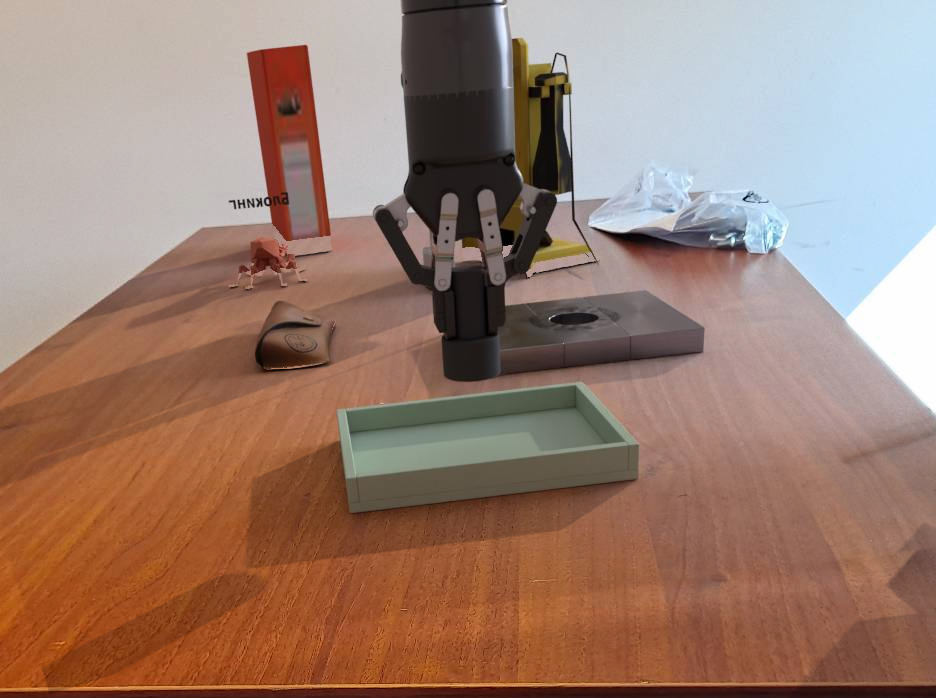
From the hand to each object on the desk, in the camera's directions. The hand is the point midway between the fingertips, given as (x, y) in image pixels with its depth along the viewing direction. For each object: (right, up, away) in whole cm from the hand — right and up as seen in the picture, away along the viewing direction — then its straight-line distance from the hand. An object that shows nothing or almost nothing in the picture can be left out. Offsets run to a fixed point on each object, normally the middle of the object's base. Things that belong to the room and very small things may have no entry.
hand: (470, 334), depth 74 cm
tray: (+1, -9, +5) cm, 10 cm away
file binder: (-23, +37, +101) cm, 109 cm away
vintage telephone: (+15, +25, +71) cm, 77 cm away
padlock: (+1, +20, +62) cm, 65 cm away
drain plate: (+14, +6, +32) cm, 36 cm away
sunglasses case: (-17, +7, +40) cm, 44 cm away
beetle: (-25, +25, +77) cm, 85 cm away
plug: (0, -3, +1) cm, 3 cm away
